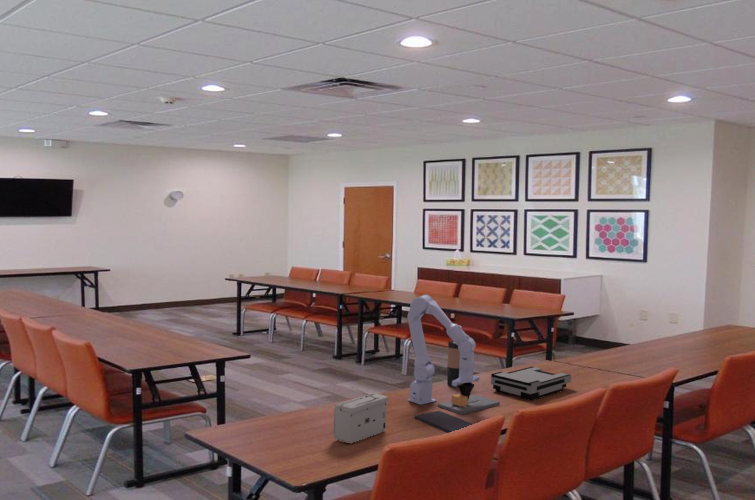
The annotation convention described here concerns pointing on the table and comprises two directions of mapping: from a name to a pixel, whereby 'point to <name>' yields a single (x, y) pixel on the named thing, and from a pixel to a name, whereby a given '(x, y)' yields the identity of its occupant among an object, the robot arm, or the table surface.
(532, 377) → the game console
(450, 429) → the notebook
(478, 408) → the fader panel
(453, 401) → the fader knob
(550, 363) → the table surface
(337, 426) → the stereo radio cassette player
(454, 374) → the travel mug
